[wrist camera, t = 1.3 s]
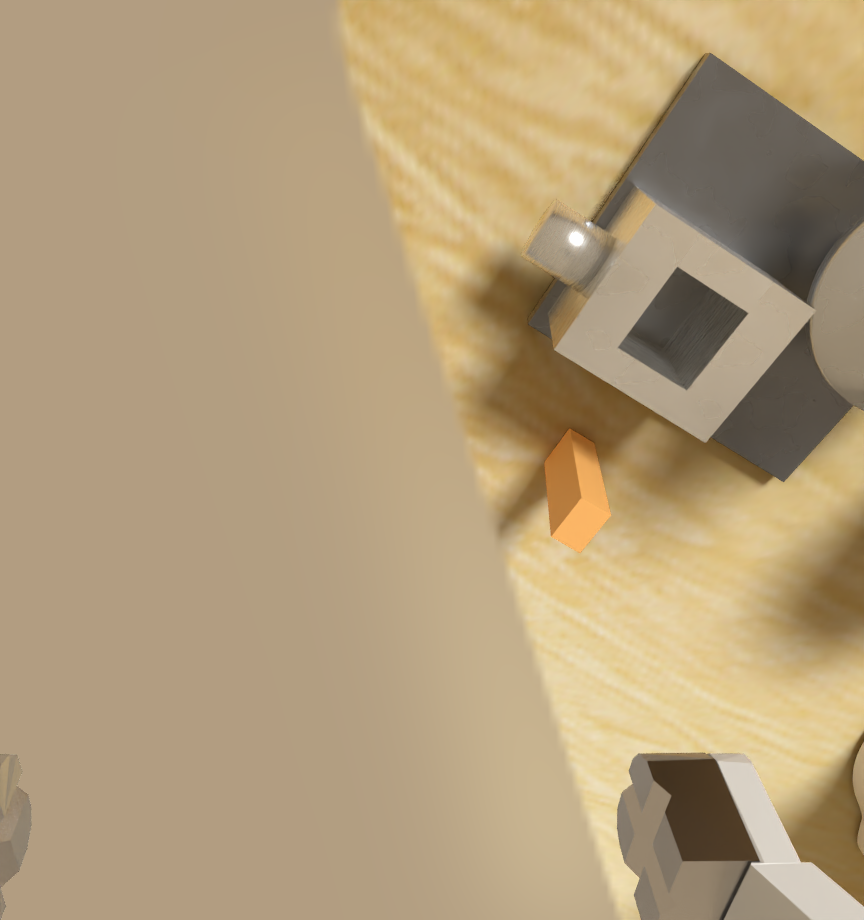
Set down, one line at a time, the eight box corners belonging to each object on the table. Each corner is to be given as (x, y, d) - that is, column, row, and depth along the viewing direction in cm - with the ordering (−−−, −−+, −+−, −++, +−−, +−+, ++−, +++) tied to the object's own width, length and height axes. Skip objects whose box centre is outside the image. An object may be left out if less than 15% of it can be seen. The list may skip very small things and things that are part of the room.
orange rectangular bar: (594, 443, 44) (611, 515, 37) (568, 476, 45) (580, 553, 38) (569, 428, 44) (581, 497, 37) (544, 462, 45) (551, 536, 38)
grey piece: (1024, 238, 38) (1280, 320, 26) (797, 485, 44) (912, 650, 32) (677, -10, 35) (773, -55, 22) (485, 293, 41) (475, 390, 29)
